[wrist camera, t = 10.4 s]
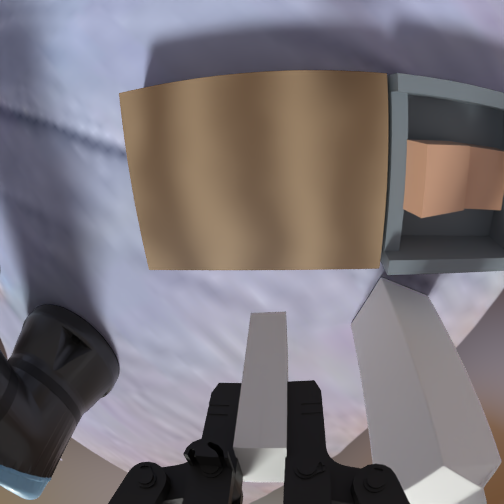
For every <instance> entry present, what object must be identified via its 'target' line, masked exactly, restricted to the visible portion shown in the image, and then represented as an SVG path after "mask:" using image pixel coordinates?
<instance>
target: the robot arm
mask: <svg viewBox="0 0 504 504" xmlns="http://www.w3.org/2000/svg"><path fill="white" fill-rule="evenodd" d="M118 376H119V366H118V362H117V359H116V357H115V355H114V353H113V351H112V350H111V348H110V346H109V345H108V344H107V342H106V341H105V340H104V339H103V337H102V336H101V335H100V334H99V333H98V332H97V331H96V330H95V329H94V328H93V327H92V326H91V325H90V324H88V323H87V322H86V321H85V320H83V319H82V318H80V317H79V316H77V315H76V314H74V313H72V312H71V311H69V310H66V309H64V308H62V307H59V306H55V305H41V306H39V307H37V308H36V309H35V310H34V311H33V312H32V313H31V314H30V315H29V316H28V317H27V318H26V320H25V321H24V324H23V327H22V331H21V333H20V335H19V337H18V340H17V342H16V345H15V347H14V350H13V353H12V355H11V357H10V358H9V359H8V361H7V359H6V358H5V356H4V355H3V353H2V352H1V350H0V485H1V486H3V487H4V488H6V489H7V490H9V491H11V492H12V493H14V494H16V495H18V496H20V497H22V498H24V499H27V500H33V499H36V498H38V497H39V496H40V495H41V493H42V491H43V490H44V488H45V486H46V485H47V483H48V482H49V481H50V480H51V477H52V475H53V473H54V471H55V469H56V466H57V464H58V462H59V460H60V458H61V456H62V454H63V452H64V450H65V448H66V446H67V444H68V442H69V440H70V438H71V436H72V434H73V432H74V430H75V428H76V426H77V424H78V422H79V420H80V419H81V417H82V415H83V414H84V413H85V412H86V411H88V410H89V409H90V408H91V407H92V406H93V405H94V404H95V403H96V402H97V401H98V400H99V399H100V398H102V397H104V396H106V395H107V394H108V393H109V392H110V391H111V390H112V388H113V386H114V384H115V383H116V381H117V379H118ZM184 456H185V458H186V460H187V461H188V462H186V463H184V464H180V465H175V466H168V467H161V466H159V465H157V464H156V463H152V462H142V463H139V464H137V465H135V466H134V467H133V468H132V469H131V470H130V471H129V472H128V474H127V475H126V477H125V478H124V480H123V481H122V483H121V485H120V486H119V488H118V489H117V491H116V492H115V494H114V495H113V497H112V499H111V500H110V502H109V503H108V504H242V502H243V493H242V481H243V480H244V482H284V501H283V503H284V504H410V503H409V501H408V499H407V496H406V494H405V492H404V490H403V488H402V486H401V484H400V482H399V480H398V478H397V476H396V474H395V473H394V472H393V470H392V469H391V468H389V467H387V466H386V465H383V464H371V465H367V466H366V467H364V468H362V469H360V468H354V467H348V466H344V465H341V464H338V463H337V462H335V461H334V460H333V459H331V458H330V456H329V455H328V453H327V449H326V441H325V429H324V417H323V406H322V396H321V390H320V388H319V387H318V385H317V384H316V382H315V381H314V380H312V381H292V382H288V346H287V322H286V312H267V313H251V316H250V324H249V332H248V339H247V347H246V354H245V362H244V370H243V377H242V383H219V384H218V385H217V386H216V388H215V389H214V390H213V392H212V393H211V398H210V402H209V407H208V412H207V416H206V421H205V426H204V430H203V435H202V439H199V440H197V441H195V442H192V443H191V444H190V445H189V446H188V447H187V448H186V450H185V452H184Z"/></svg>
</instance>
